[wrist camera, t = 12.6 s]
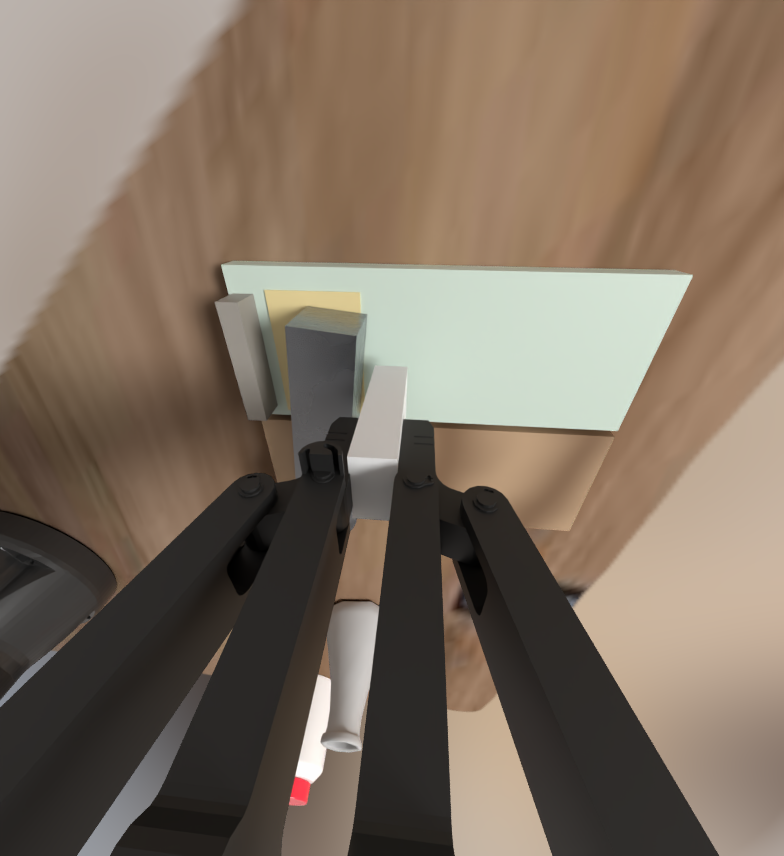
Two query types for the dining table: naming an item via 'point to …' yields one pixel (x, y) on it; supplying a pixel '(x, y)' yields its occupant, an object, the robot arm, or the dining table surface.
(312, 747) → the pill bottle
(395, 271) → the door panel
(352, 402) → the latch bar
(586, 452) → the board
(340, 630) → the flask
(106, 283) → the dining table surface
